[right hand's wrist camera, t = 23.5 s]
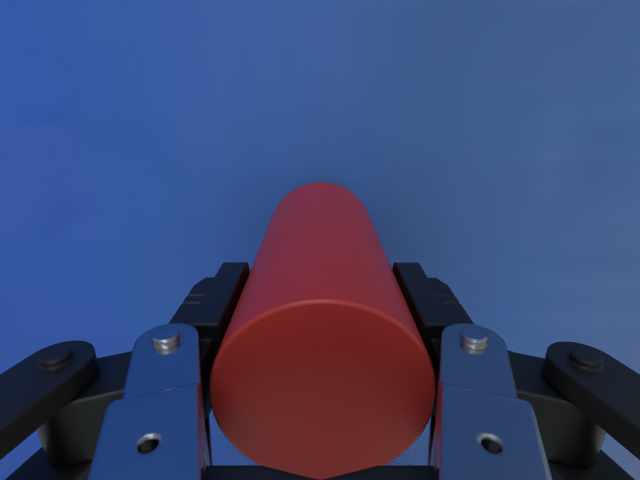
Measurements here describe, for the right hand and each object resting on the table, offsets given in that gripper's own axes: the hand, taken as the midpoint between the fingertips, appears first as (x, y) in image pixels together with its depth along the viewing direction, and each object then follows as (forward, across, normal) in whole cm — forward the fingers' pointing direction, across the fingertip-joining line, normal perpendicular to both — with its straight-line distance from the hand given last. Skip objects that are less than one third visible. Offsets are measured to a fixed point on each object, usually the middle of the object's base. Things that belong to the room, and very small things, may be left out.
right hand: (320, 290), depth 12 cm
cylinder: (+6, 0, 0) cm, 6 cm away
